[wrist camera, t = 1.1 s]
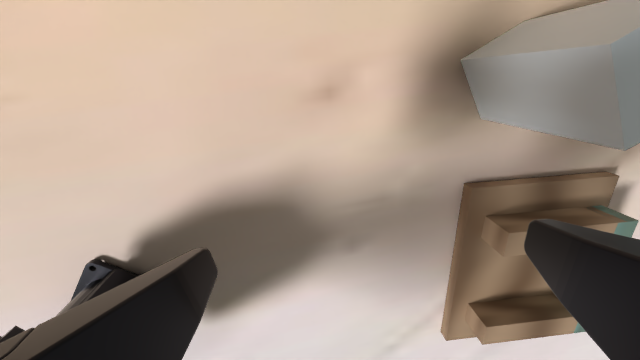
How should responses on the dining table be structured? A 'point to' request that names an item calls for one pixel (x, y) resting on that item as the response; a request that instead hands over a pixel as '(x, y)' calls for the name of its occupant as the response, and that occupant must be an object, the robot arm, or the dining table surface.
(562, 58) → the block
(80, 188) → the dining table surface
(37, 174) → the dining table surface
